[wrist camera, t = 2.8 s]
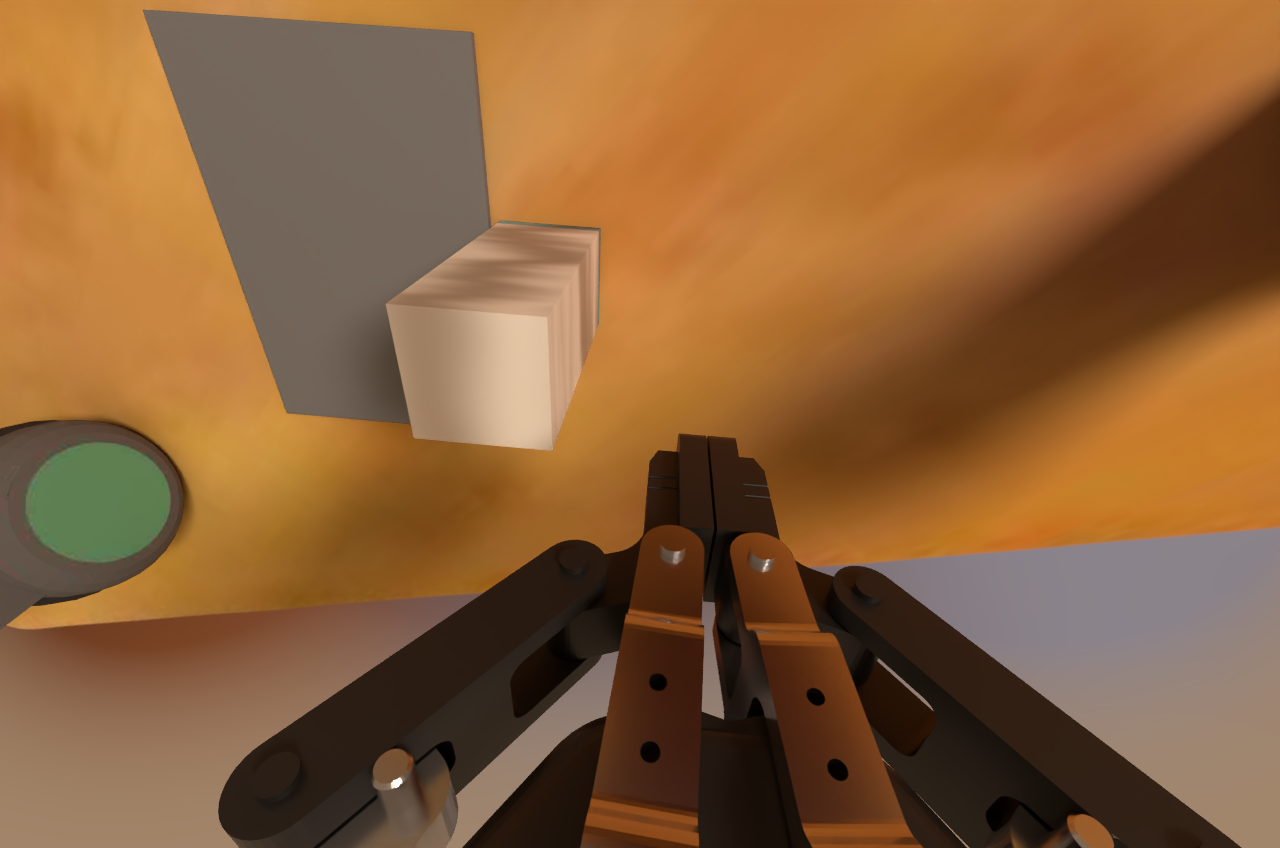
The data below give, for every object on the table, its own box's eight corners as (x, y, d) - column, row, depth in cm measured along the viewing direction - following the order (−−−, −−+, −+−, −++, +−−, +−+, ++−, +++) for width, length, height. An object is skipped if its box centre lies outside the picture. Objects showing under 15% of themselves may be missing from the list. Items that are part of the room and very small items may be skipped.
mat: (473, 32, 22) (470, 31, 22) (509, 429, 33) (507, 432, 33) (150, 10, 23) (142, 9, 22) (291, 409, 33) (286, 412, 33)
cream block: (600, 228, 26) (547, 317, 16) (598, 323, 29) (552, 450, 19) (500, 220, 26) (385, 303, 16) (508, 315, 29) (413, 438, 19)
